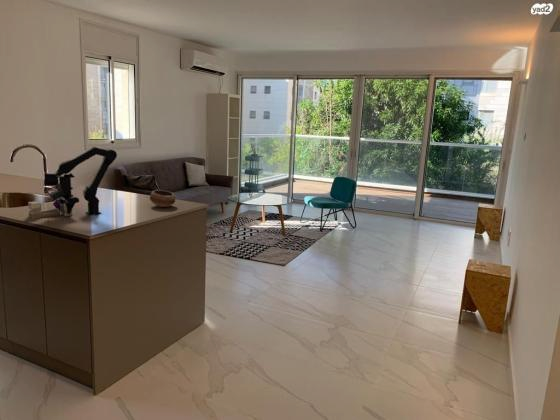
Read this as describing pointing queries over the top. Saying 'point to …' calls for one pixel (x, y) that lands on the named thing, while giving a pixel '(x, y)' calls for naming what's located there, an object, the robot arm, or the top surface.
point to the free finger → (64, 210)
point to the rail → (41, 211)
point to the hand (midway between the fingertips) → (66, 213)
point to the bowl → (162, 198)
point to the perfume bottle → (56, 200)
